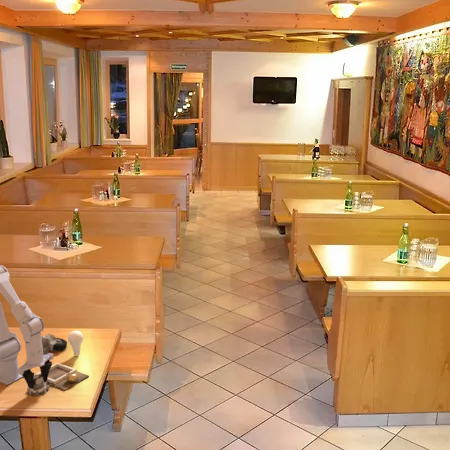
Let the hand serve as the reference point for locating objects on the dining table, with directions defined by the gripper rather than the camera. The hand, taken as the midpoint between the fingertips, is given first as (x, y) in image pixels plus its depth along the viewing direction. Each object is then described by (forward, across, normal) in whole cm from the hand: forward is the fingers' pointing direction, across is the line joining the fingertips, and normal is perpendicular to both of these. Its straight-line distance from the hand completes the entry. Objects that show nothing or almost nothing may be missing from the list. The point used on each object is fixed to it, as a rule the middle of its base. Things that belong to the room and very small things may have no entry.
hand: (37, 384), depth 211 cm
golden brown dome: (+3, +11, -6) cm, 13 cm away
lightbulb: (+3, +27, +9) cm, 29 cm away
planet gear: (+3, 0, 0) cm, 3 cm away
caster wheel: (+3, +26, +22) cm, 34 cm away
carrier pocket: (+3, +11, +3) cm, 12 cm away
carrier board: (+3, +11, 0) cm, 11 cm away
